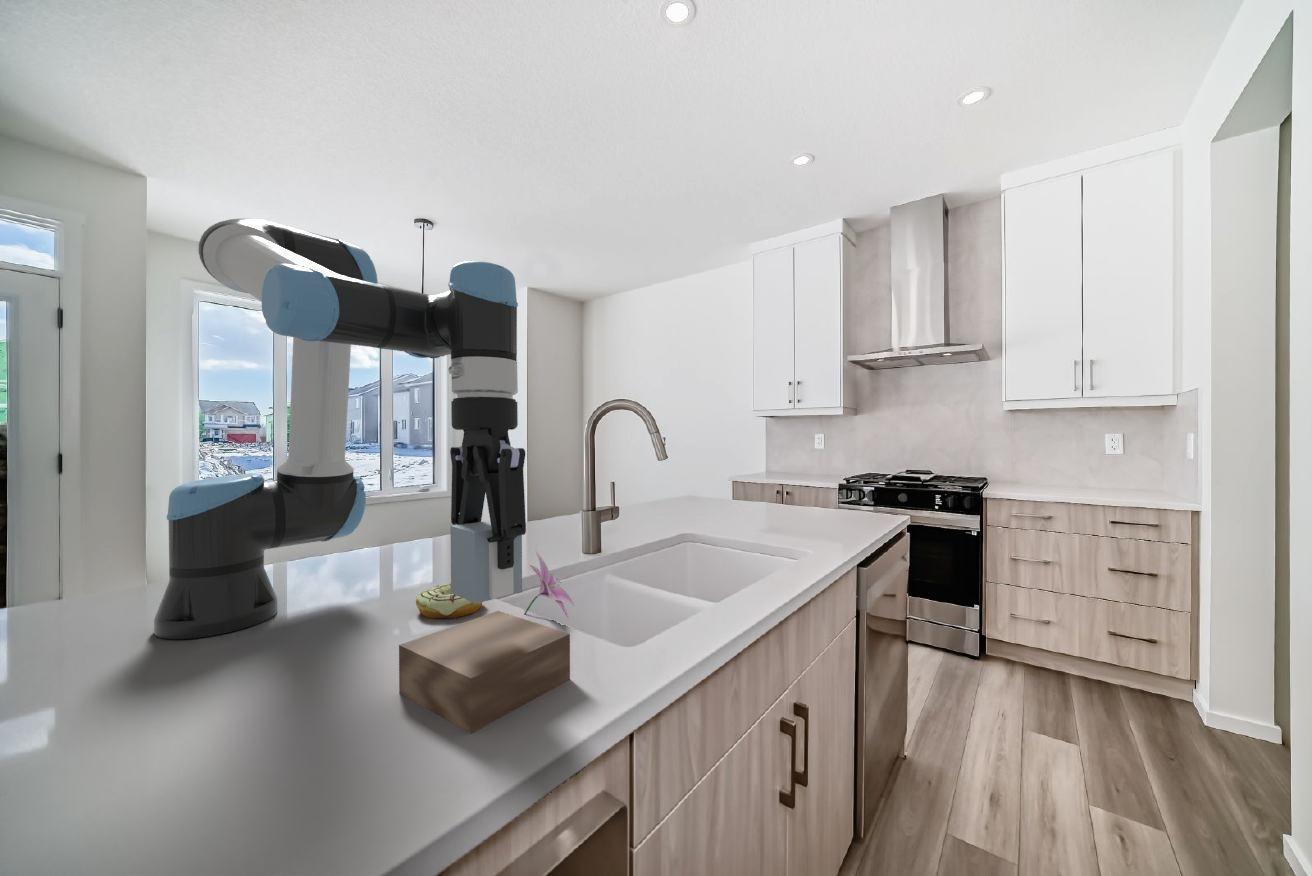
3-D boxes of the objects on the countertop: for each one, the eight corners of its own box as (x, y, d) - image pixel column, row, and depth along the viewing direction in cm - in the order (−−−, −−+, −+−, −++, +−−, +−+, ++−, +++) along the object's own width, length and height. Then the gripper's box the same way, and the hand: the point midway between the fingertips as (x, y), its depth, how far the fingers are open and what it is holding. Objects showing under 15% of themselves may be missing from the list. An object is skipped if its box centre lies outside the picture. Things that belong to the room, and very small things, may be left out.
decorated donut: (450, 626, 81) (449, 602, 81) (402, 616, 86) (401, 593, 86) (495, 605, 91) (495, 584, 91) (450, 597, 95) (450, 577, 95)
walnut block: (399, 695, 60) (398, 644, 60) (498, 653, 72) (498, 610, 72) (471, 737, 52) (470, 678, 52) (570, 682, 64) (569, 633, 63)
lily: (540, 640, 78) (572, 583, 79) (486, 600, 83) (516, 546, 84) (574, 635, 89) (601, 585, 90) (524, 600, 94) (550, 553, 95)
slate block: (450, 592, 62) (450, 526, 61) (496, 581, 66) (496, 519, 66) (475, 603, 57) (474, 532, 57) (522, 591, 62) (521, 525, 62)
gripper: (420, 399, 65) (422, 580, 65) (497, 390, 52) (499, 617, 52) (475, 401, 71) (477, 569, 71) (558, 394, 58) (560, 599, 58)
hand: (486, 589), depth 62 cm, fingers closed on slate block, 6 cm apart
